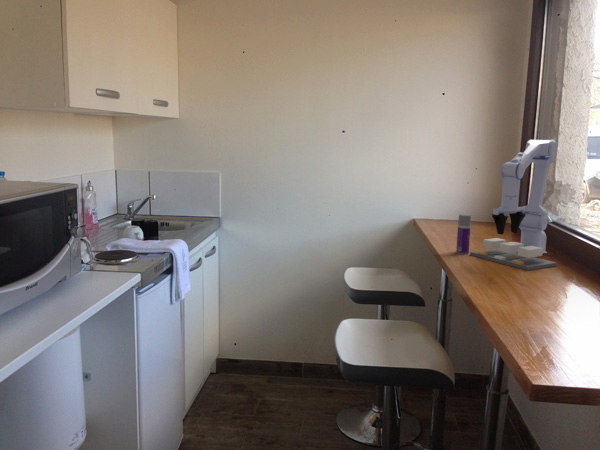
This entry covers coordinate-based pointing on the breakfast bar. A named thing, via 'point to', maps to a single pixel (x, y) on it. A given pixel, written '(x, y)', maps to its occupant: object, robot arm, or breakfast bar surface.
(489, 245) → the button
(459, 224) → the container
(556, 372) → the breakfast bar surface
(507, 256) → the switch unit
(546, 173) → the robot arm
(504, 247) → the button
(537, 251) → the button
